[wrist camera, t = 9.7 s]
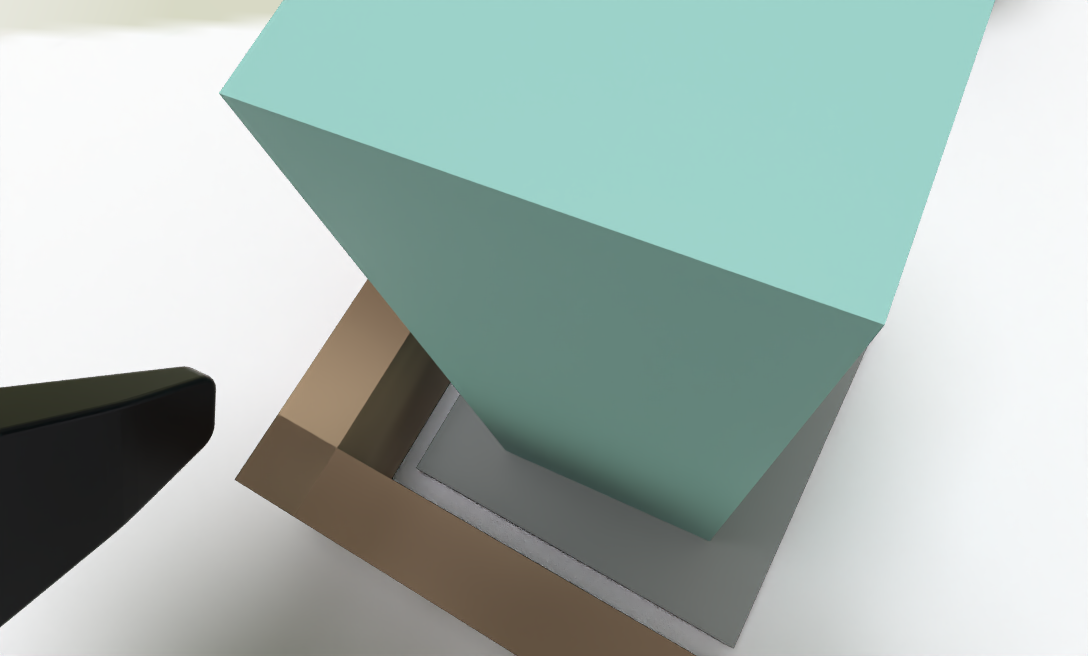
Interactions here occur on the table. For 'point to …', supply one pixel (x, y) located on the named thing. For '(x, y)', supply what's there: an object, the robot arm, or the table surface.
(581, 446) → the teal block
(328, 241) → the table surface
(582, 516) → the grey mat
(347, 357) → the walnut corner walls
